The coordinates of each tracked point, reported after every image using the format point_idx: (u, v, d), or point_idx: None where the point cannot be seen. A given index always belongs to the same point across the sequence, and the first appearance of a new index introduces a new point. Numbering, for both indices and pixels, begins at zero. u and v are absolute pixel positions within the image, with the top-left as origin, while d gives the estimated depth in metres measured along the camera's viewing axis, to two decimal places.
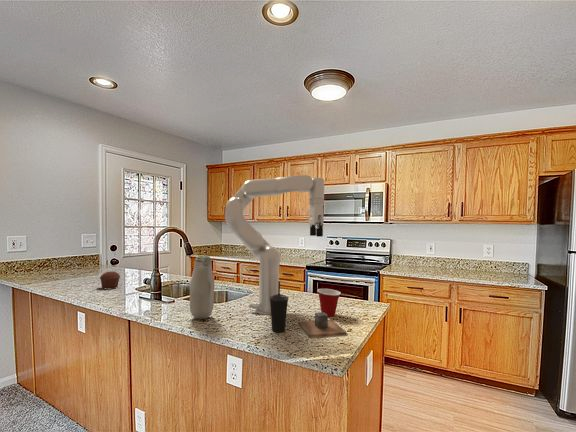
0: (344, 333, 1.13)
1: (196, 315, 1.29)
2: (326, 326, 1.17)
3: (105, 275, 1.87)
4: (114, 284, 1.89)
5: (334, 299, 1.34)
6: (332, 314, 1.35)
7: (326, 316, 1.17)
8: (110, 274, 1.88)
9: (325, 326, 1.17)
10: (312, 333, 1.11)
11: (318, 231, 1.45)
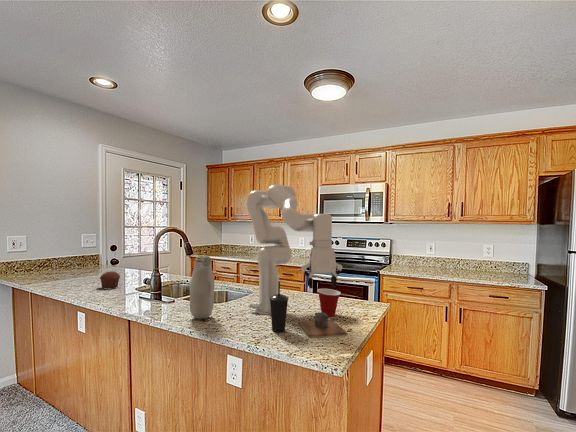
0: (344, 333, 1.13)
1: (196, 315, 1.29)
2: (326, 326, 1.17)
3: (105, 275, 1.87)
4: (114, 284, 1.89)
5: (334, 299, 1.34)
6: (332, 314, 1.35)
7: (326, 316, 1.17)
8: (110, 274, 1.88)
9: (325, 326, 1.17)
10: (312, 333, 1.11)
11: None
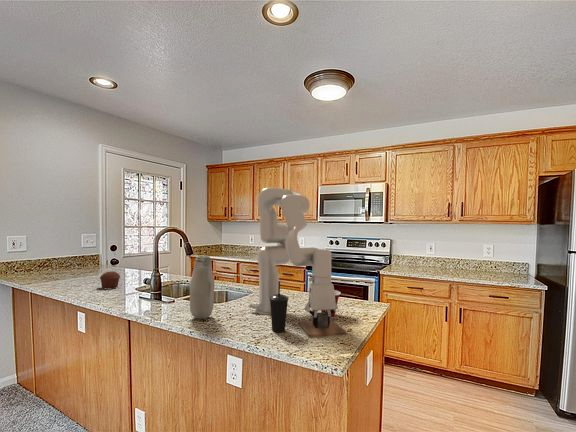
0: (344, 333, 1.13)
1: (196, 315, 1.29)
2: (326, 326, 1.17)
3: (105, 275, 1.87)
4: (114, 284, 1.89)
5: None
6: (332, 314, 1.35)
7: (326, 316, 1.17)
8: (110, 274, 1.88)
9: (325, 326, 1.17)
10: (312, 333, 1.11)
11: (328, 320, 1.19)
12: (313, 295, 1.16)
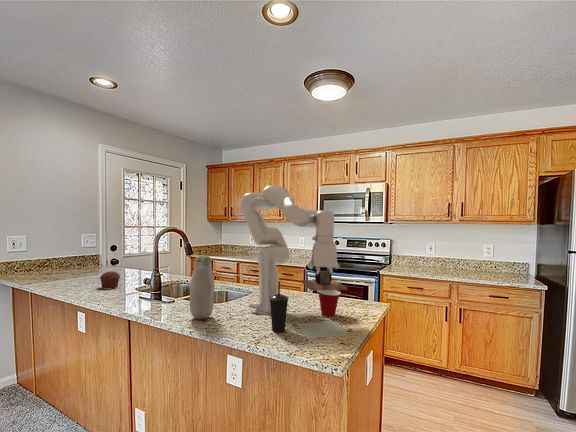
0: (345, 288, 1.19)
1: (196, 315, 1.29)
2: (328, 283, 1.23)
3: (105, 275, 1.87)
4: (114, 284, 1.89)
5: (334, 299, 1.34)
6: (332, 314, 1.35)
7: (328, 273, 1.23)
8: (110, 274, 1.88)
9: (327, 283, 1.23)
10: (314, 287, 1.17)
11: (330, 277, 1.25)
12: (316, 252, 1.22)
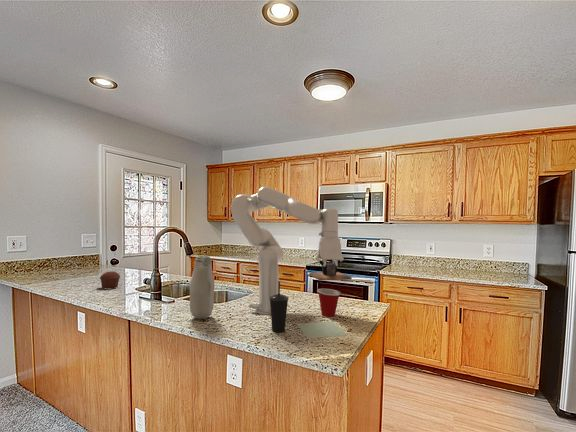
0: (349, 278, 1.32)
1: (196, 315, 1.29)
2: (334, 274, 1.36)
3: (105, 275, 1.87)
4: (114, 284, 1.89)
5: (334, 299, 1.34)
6: (332, 314, 1.35)
7: (334, 265, 1.36)
8: (110, 274, 1.88)
9: (333, 274, 1.36)
10: (322, 277, 1.30)
11: (335, 269, 1.38)
12: (322, 247, 1.35)
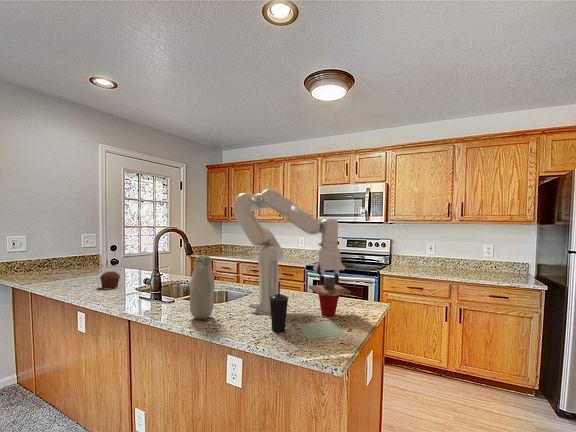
0: (349, 292, 1.32)
1: (196, 315, 1.29)
2: (333, 287, 1.36)
3: (105, 275, 1.87)
4: (114, 284, 1.89)
5: (334, 299, 1.34)
6: (332, 314, 1.35)
7: (333, 279, 1.36)
8: (110, 274, 1.88)
9: (332, 287, 1.36)
10: (321, 292, 1.30)
11: None
12: (322, 257, 1.35)
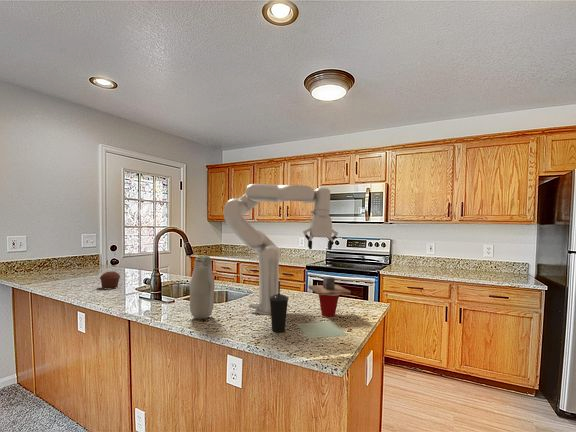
0: (349, 292, 1.32)
1: (196, 315, 1.29)
2: (333, 287, 1.36)
3: (105, 275, 1.87)
4: (114, 284, 1.89)
5: (334, 299, 1.34)
6: (332, 314, 1.35)
7: (333, 279, 1.36)
8: (110, 274, 1.88)
9: (332, 287, 1.36)
10: (321, 292, 1.30)
11: (330, 244, 1.44)
12: (314, 224, 1.40)
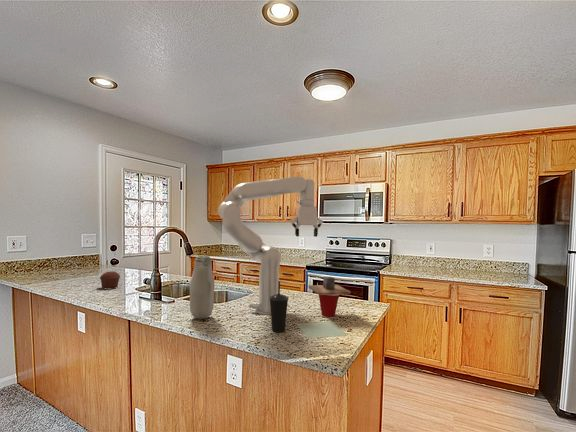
0: (349, 292, 1.32)
1: (196, 315, 1.28)
2: (333, 287, 1.36)
3: (105, 275, 1.87)
4: (114, 284, 1.89)
5: (334, 299, 1.34)
6: (332, 314, 1.35)
7: (333, 279, 1.36)
8: (110, 274, 1.88)
9: (332, 287, 1.36)
10: (321, 291, 1.30)
11: (316, 231, 1.54)
12: (300, 213, 1.50)
